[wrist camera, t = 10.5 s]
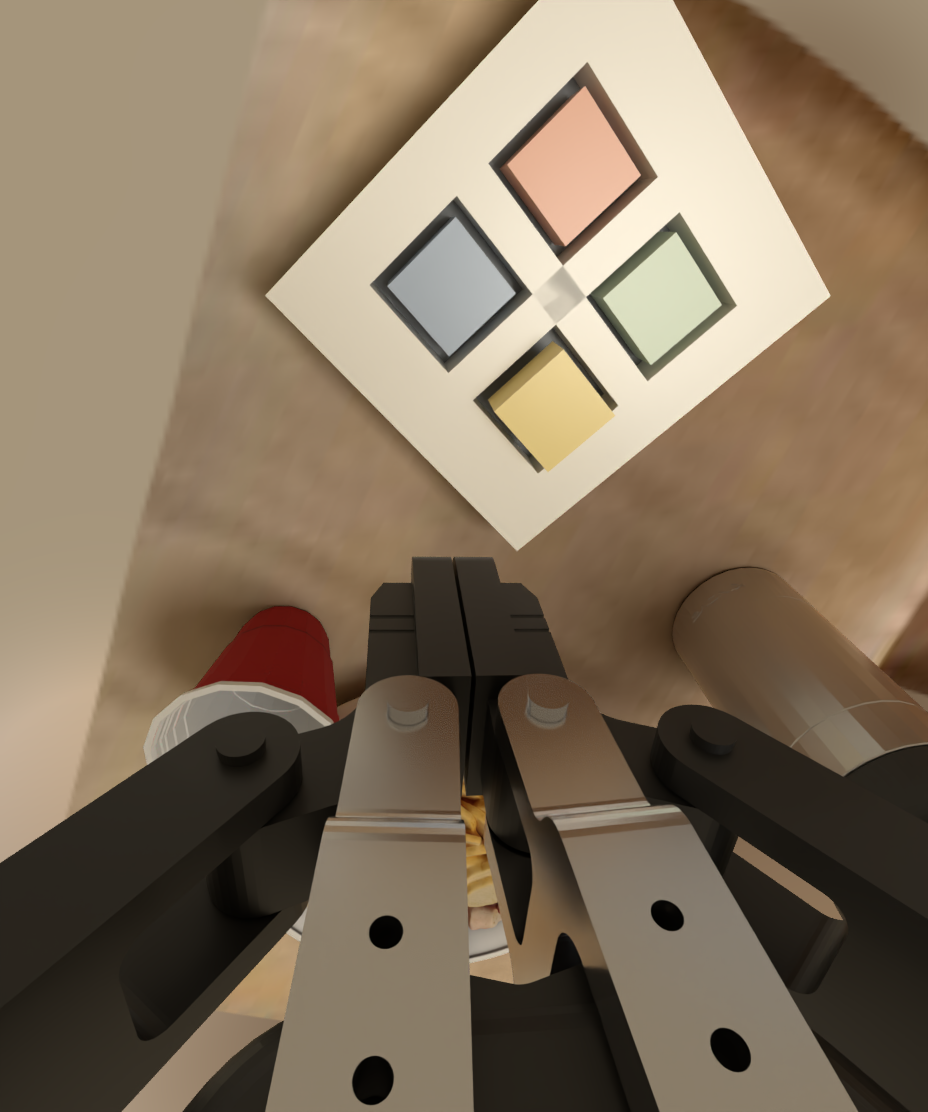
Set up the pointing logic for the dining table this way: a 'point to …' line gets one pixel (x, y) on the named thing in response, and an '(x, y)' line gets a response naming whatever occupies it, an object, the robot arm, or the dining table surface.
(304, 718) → the plastic cup
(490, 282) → the key slate
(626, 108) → the keypad board
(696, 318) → the key sage
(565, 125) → the key terracotta
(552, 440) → the key mustard
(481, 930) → the bowl
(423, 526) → the dining table surface
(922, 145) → the dining table surface
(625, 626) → the dining table surface
